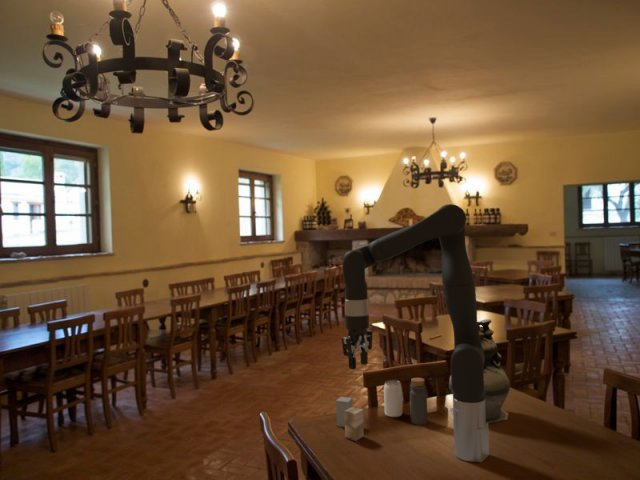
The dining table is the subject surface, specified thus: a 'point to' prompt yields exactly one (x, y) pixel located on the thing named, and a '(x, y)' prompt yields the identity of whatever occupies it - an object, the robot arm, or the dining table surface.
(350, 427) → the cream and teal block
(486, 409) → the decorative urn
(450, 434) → the dining table surface
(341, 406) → the grey block
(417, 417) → the bottle
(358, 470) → the dining table surface
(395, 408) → the can
